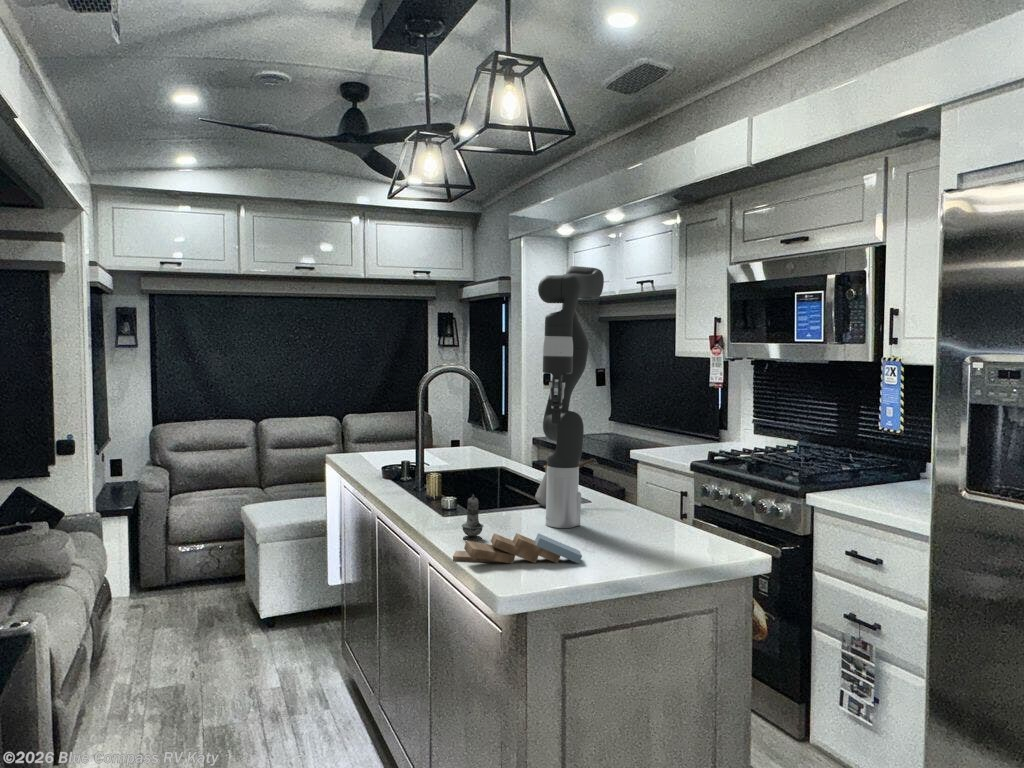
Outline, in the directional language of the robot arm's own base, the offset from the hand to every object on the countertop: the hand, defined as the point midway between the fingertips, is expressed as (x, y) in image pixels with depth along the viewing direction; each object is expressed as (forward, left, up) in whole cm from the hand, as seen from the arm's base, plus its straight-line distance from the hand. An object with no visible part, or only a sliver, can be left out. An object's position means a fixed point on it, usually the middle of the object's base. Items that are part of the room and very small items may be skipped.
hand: (556, 423), depth 188 cm
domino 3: (+9, +8, -31) cm, 33 cm away
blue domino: (-1, +12, -31) cm, 33 cm away
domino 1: (+17, +4, -32) cm, 36 cm away
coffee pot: (-29, -47, -32) cm, 64 cm away
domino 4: (+4, +10, -31) cm, 33 cm away
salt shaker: (+16, -16, -32) cm, 39 cm away
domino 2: (+15, +7, -31) cm, 35 cm away
